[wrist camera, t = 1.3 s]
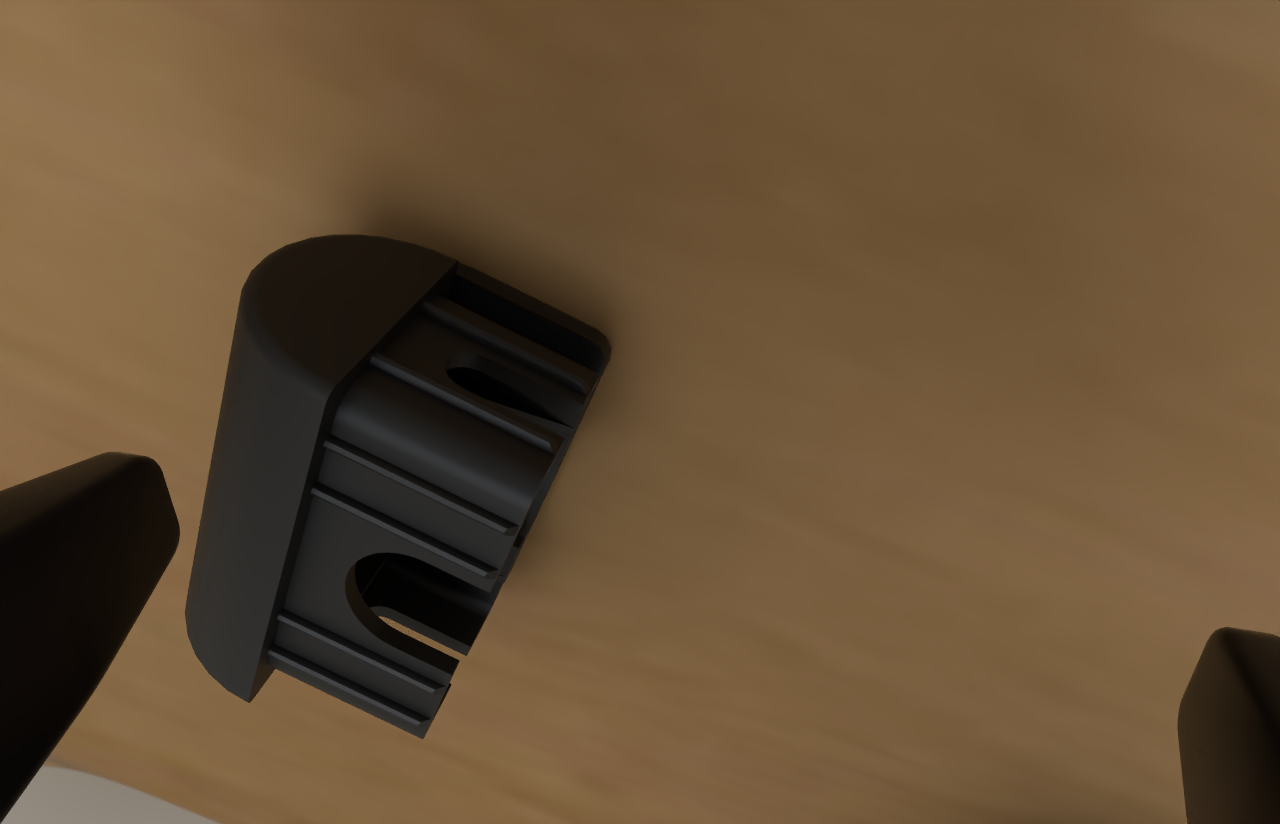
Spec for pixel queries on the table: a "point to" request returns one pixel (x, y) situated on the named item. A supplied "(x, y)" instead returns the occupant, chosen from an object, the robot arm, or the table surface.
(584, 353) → the end cap
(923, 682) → the table surface
